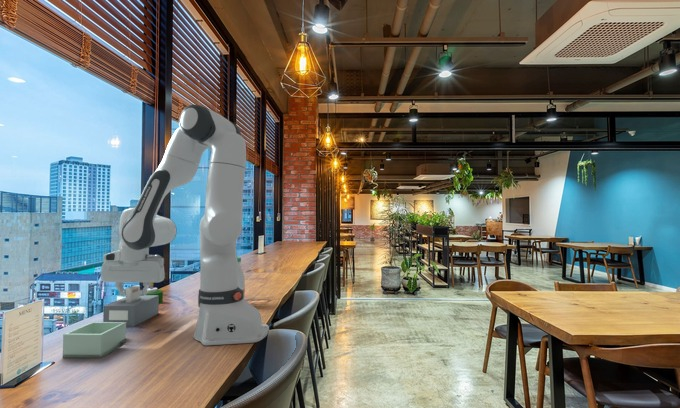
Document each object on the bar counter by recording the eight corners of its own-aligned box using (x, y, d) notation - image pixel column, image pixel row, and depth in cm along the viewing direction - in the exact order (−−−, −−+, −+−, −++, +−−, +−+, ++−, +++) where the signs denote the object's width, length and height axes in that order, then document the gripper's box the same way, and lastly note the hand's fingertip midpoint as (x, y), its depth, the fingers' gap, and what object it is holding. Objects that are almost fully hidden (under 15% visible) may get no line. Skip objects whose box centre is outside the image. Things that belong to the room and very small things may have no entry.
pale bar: (139, 317, 117) (139, 285, 117) (130, 321, 112) (130, 288, 112) (134, 317, 117) (135, 285, 117) (125, 321, 112) (125, 288, 112)
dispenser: (158, 317, 121) (158, 293, 121) (133, 331, 107) (134, 304, 107) (130, 317, 121) (131, 293, 122) (102, 331, 107) (103, 303, 107)
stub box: (125, 343, 97) (126, 322, 97) (100, 358, 87) (101, 334, 87) (91, 342, 97) (92, 322, 97) (62, 357, 87) (63, 334, 87)
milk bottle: (246, 304, 139) (247, 256, 139) (241, 310, 131) (242, 258, 132) (227, 304, 138) (228, 256, 139) (221, 310, 131) (222, 258, 131)
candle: (166, 304, 139) (167, 280, 139) (146, 309, 132) (146, 283, 132) (155, 301, 143) (156, 278, 143) (135, 306, 136) (135, 281, 136)
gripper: (168, 253, 118) (168, 293, 118) (111, 253, 118) (110, 292, 118) (158, 255, 112) (157, 297, 111) (98, 255, 112) (97, 297, 112)
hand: (132, 295), depth 115 cm, fingers open, 6 cm apart
